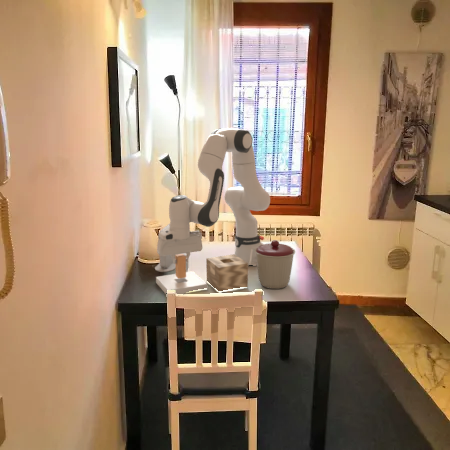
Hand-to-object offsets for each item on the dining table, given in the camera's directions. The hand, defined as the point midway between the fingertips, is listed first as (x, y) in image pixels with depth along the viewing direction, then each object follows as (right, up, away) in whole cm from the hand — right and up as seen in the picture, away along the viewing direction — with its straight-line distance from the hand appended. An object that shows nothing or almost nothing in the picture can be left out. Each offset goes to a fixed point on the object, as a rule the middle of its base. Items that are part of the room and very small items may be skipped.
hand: (180, 262), depth 206 cm
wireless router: (-8, -3, +37) cm, 38 cm away
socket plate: (0, -11, +3) cm, 11 cm away
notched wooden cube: (+21, -11, +4) cm, 24 cm away
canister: (+42, -11, +5) cm, 44 cm away
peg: (0, -6, +1) cm, 7 cm away
